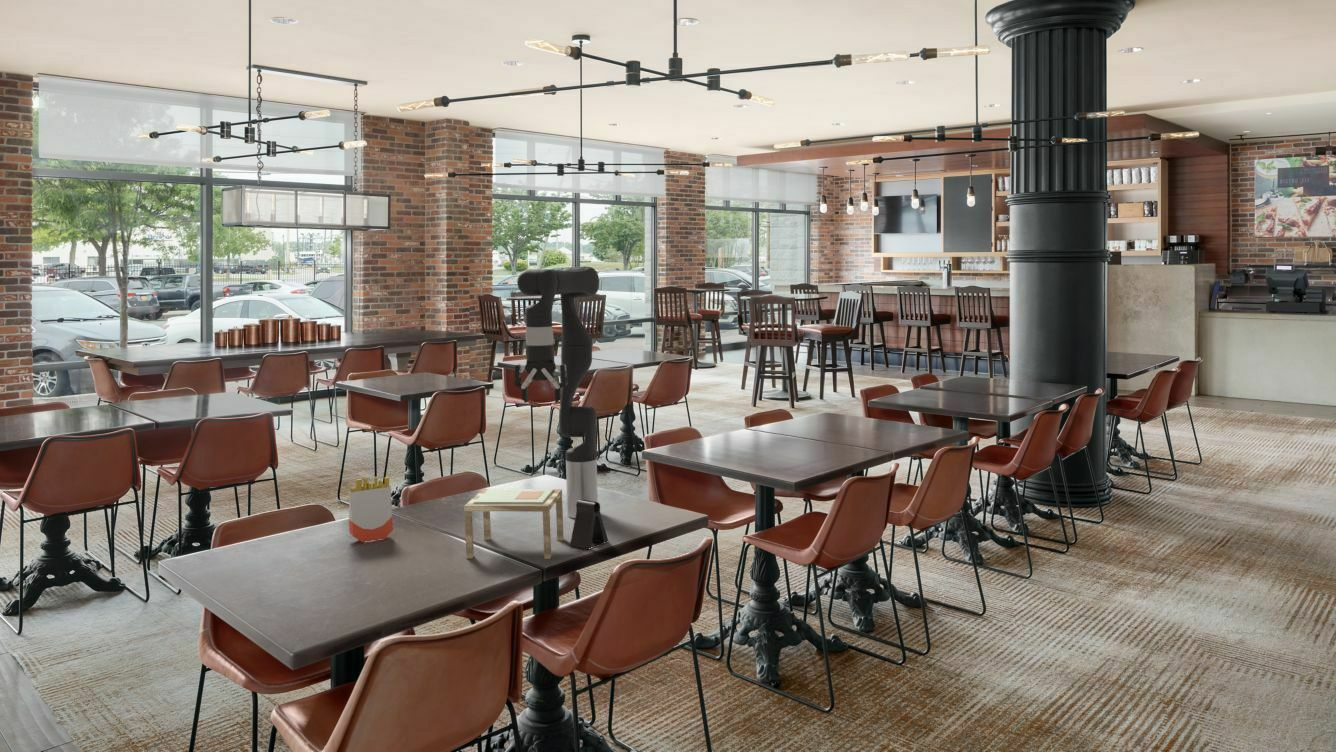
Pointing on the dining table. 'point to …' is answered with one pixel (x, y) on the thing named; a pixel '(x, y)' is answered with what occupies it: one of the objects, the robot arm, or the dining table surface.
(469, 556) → the miniature wooden table
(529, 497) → the pale green book
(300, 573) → the dining table surface
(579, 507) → the black a-frame stand
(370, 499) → the french fries container
